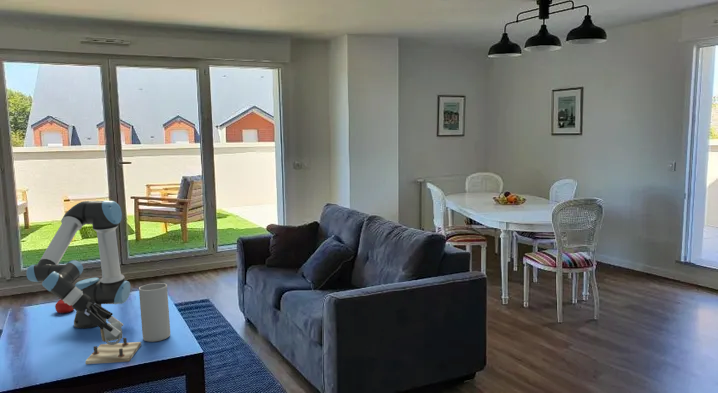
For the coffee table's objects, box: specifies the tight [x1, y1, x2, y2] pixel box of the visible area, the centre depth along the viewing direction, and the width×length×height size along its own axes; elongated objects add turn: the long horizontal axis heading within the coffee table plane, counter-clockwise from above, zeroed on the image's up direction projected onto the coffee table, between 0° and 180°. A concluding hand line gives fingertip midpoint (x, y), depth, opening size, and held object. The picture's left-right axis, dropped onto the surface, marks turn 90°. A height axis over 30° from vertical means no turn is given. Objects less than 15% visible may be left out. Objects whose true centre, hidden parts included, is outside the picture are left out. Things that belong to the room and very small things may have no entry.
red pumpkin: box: [54, 297, 75, 314], centre depth 301 cm, size 10×10×9 cm
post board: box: [85, 337, 142, 365], centre depth 242 cm, size 18×18×4 cm
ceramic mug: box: [99, 320, 123, 345], centre depth 239 cm, size 11×8×8 cm
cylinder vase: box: [138, 282, 171, 343], centre depth 259 cm, size 12×12×25 cm
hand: (119, 330), depth 241 cm, fingers closed on ceramic mug, 9 cm apart
